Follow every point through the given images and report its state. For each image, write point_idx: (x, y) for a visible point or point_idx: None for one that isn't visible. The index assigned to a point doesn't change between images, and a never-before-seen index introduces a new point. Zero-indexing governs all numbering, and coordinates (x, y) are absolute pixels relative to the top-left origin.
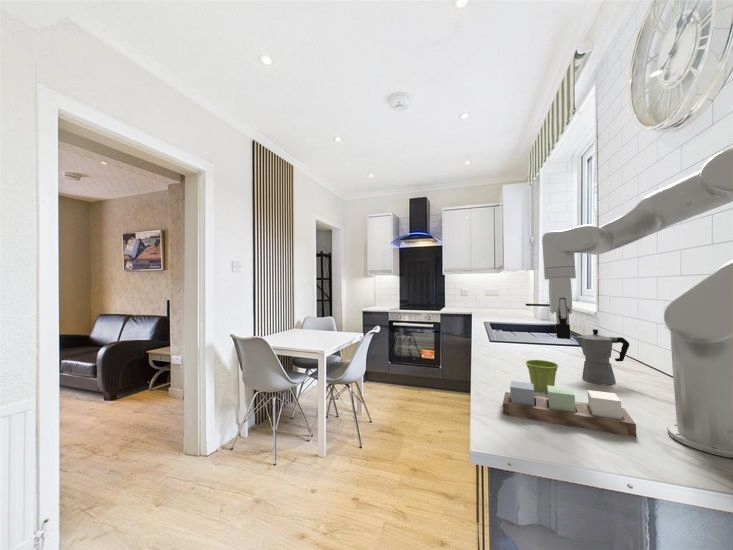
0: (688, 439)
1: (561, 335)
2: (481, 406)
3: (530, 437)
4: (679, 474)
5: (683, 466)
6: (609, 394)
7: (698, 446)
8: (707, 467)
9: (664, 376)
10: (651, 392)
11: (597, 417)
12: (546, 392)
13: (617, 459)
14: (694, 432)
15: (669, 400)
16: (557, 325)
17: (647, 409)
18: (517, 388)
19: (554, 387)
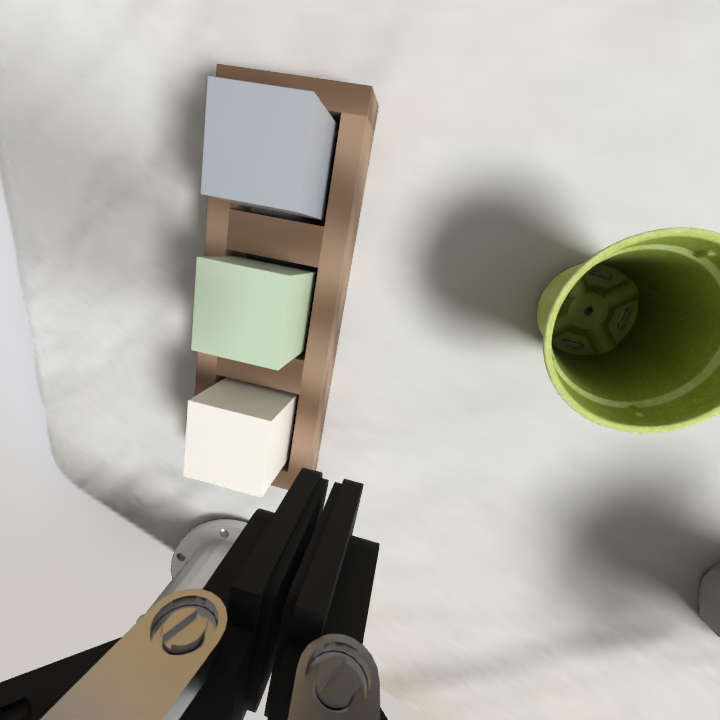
0: (204, 537)
1: (259, 512)
2: None
3: (106, 165)
4: (79, 437)
5: (113, 462)
6: (241, 473)
7: (185, 536)
8: (128, 499)
9: None
10: (604, 679)
11: (200, 384)
12: (537, 315)
13: (86, 351)
14: (191, 559)
15: (523, 676)
16: (237, 584)
17: (424, 575)
18: (206, 116)
19: (266, 300)
